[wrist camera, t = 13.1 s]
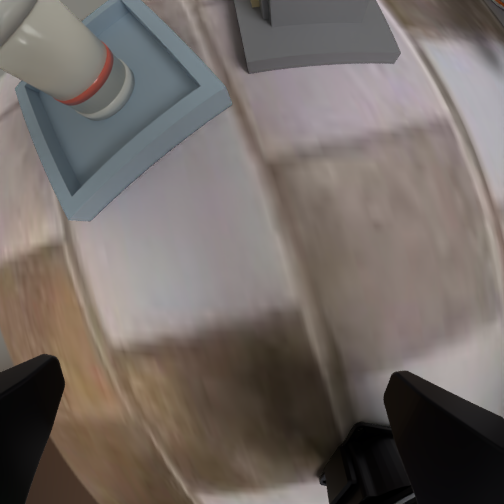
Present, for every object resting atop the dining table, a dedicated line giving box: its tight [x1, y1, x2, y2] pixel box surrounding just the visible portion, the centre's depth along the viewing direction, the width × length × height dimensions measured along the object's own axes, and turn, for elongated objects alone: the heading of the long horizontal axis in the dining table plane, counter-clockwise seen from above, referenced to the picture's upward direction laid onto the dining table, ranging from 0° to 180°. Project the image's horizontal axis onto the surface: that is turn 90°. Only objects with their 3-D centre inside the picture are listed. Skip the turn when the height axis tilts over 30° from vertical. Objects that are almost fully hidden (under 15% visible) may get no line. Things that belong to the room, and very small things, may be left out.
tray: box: [15, 0, 232, 221], centre depth 17 cm, size 14×12×2 cm
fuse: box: [0, 0, 135, 121], centre depth 11 cm, size 5×5×12 cm
